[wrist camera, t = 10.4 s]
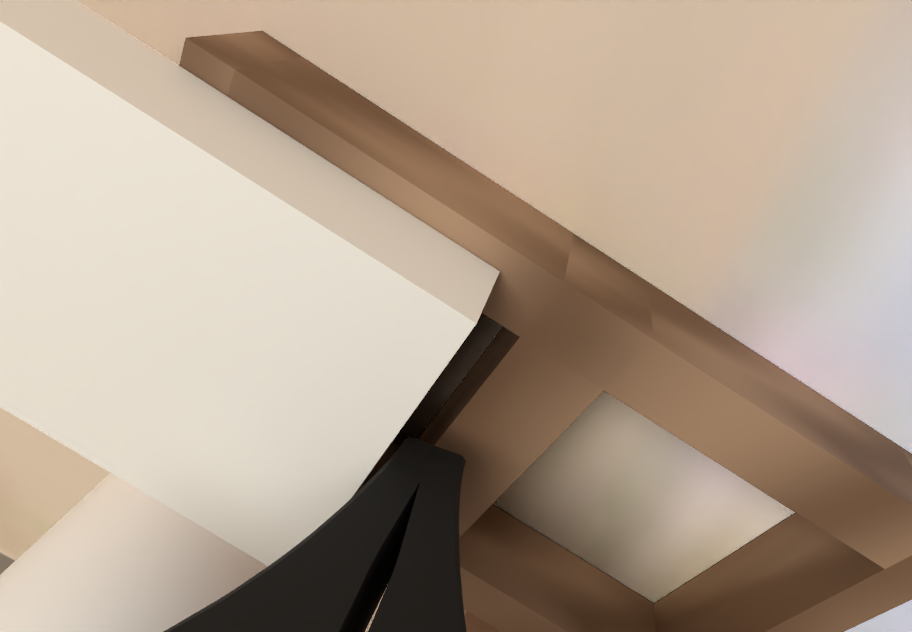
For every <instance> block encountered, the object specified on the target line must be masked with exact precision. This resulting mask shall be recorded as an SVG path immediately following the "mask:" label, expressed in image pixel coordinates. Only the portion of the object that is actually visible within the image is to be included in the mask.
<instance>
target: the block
mask: <svg viewBox="0 0 912 632" xmlns="http://www.w3.org/2000/svg"><path fill="white" fill-rule="evenodd" d="M464 615H465V623H466V630H467V632H501V631H500V630H498V629H496V628H495V627H493V626H491V625H490V624H488V623H486V622H485V621H483V620H481V619H480V618H478V617H476V616H475V615H473V614H471V613H470V612H468V611H466V610H465V609H464Z"/></svg>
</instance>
